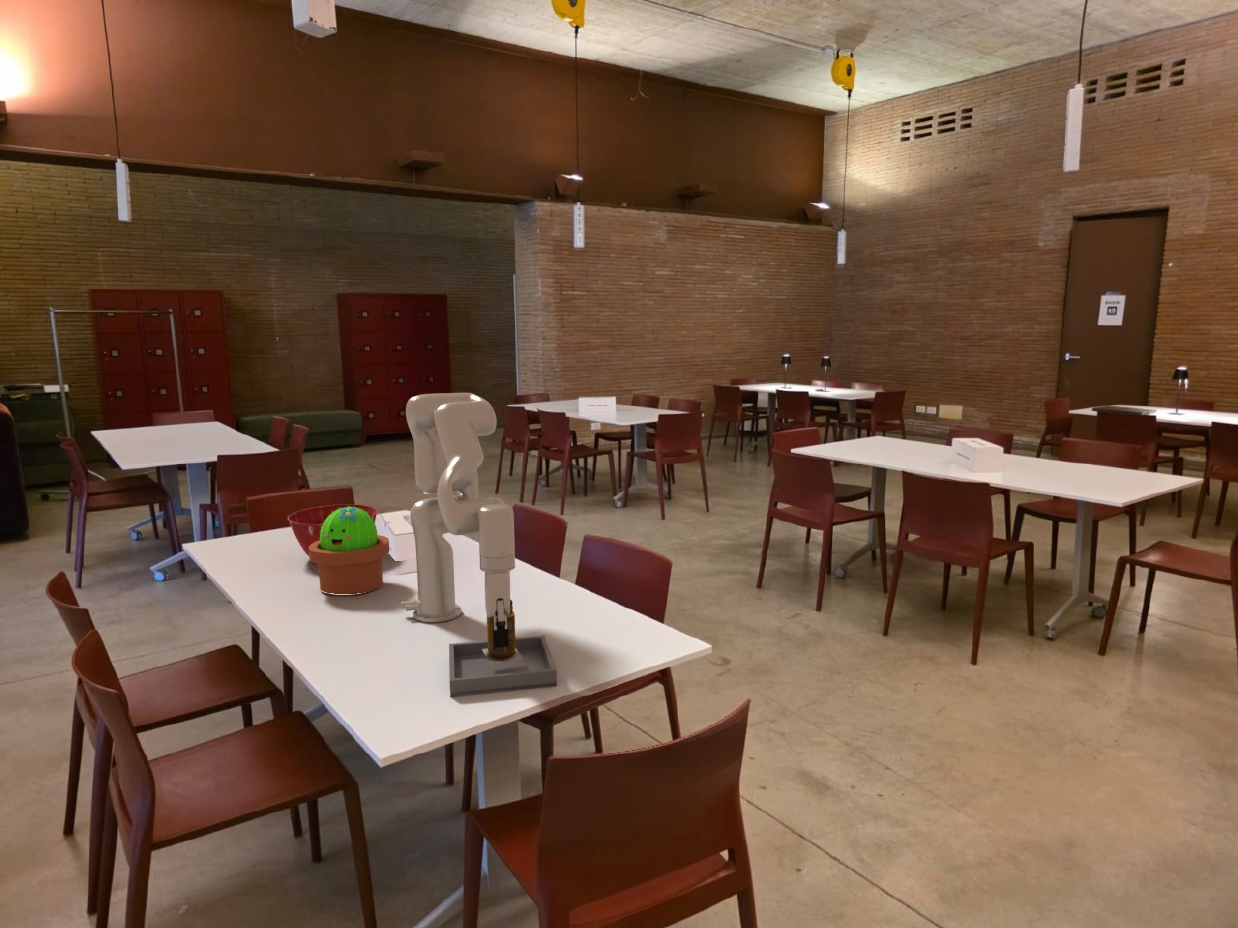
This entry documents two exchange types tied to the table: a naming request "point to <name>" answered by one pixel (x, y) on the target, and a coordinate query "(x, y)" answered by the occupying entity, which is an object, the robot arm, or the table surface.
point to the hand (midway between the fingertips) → (499, 640)
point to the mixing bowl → (318, 522)
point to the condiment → (504, 652)
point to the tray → (500, 668)
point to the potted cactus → (349, 552)
